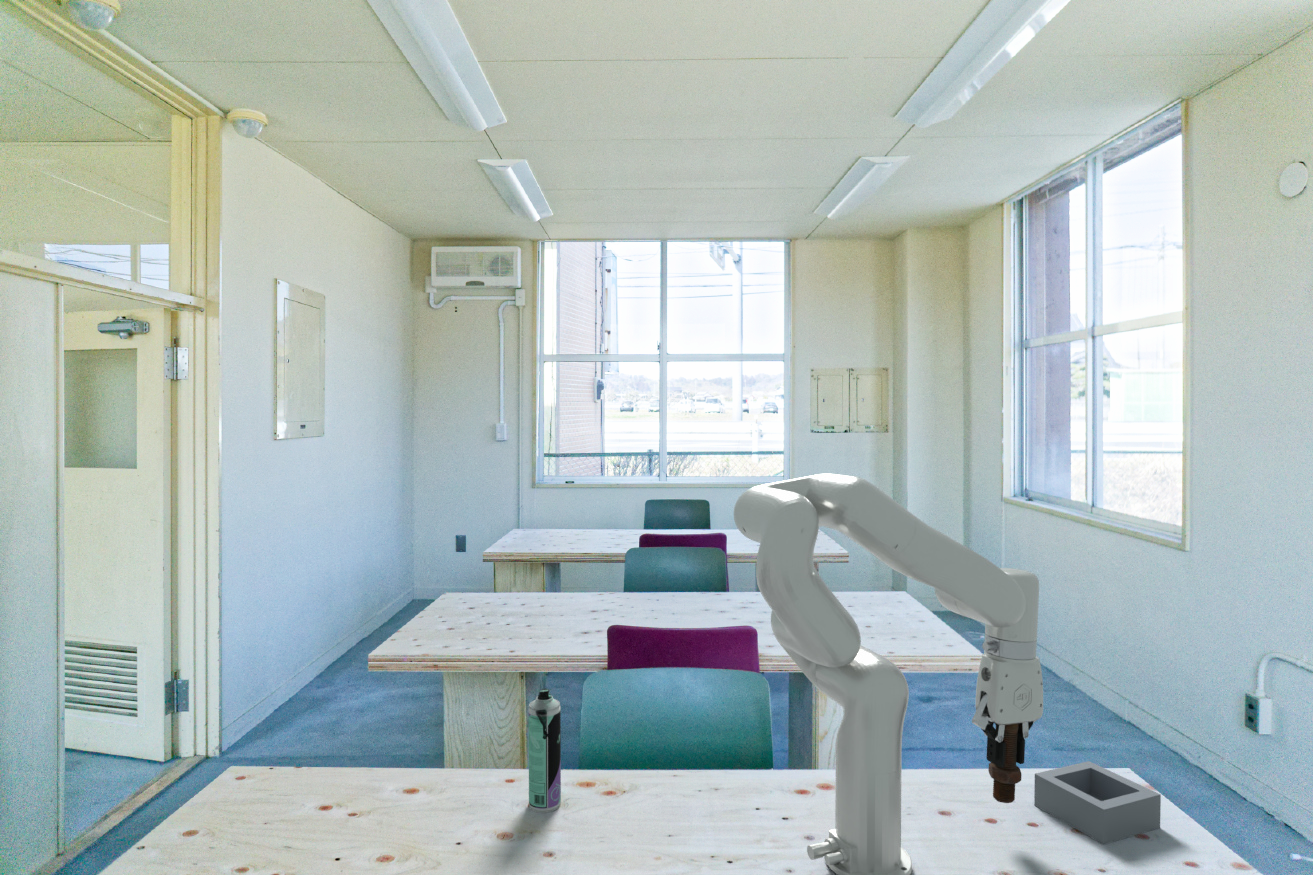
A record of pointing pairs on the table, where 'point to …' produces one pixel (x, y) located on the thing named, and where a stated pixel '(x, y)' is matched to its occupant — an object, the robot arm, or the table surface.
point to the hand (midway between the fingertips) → (1005, 760)
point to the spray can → (544, 753)
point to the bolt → (1006, 768)
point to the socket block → (1097, 801)
